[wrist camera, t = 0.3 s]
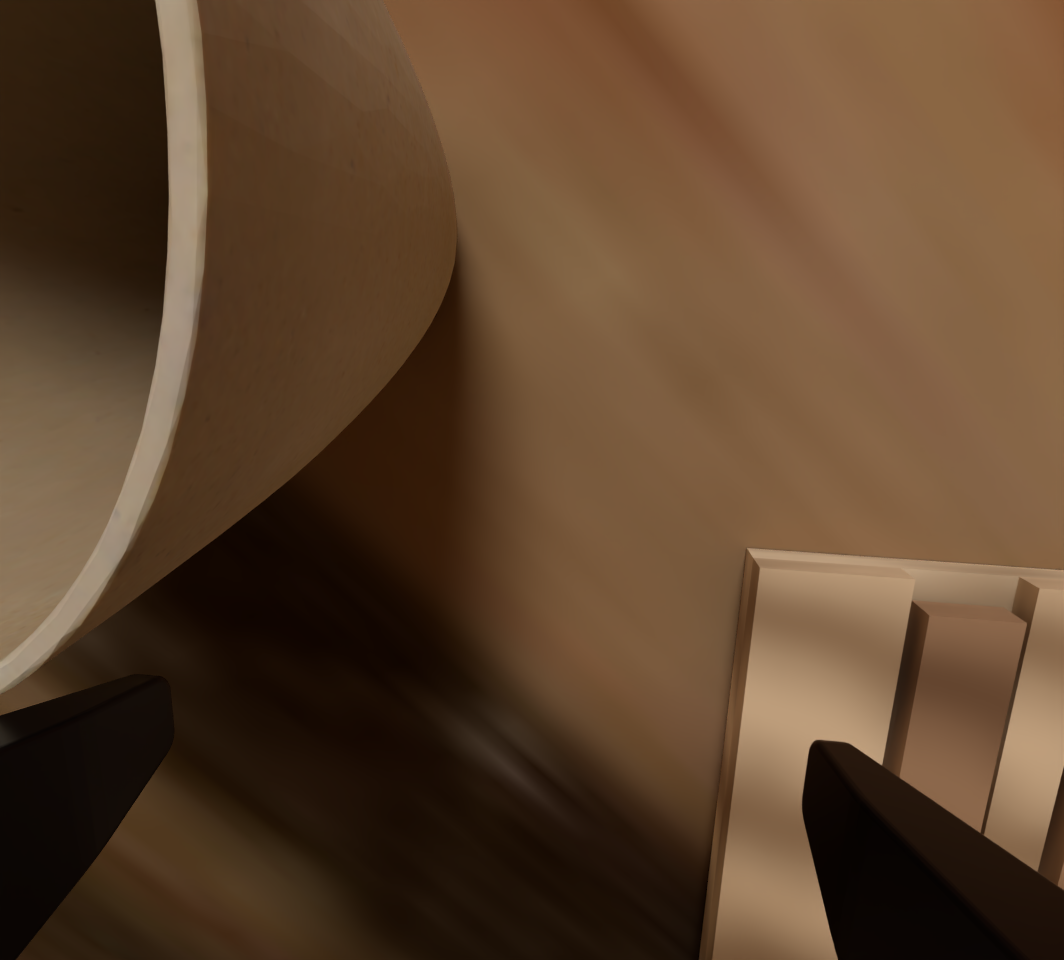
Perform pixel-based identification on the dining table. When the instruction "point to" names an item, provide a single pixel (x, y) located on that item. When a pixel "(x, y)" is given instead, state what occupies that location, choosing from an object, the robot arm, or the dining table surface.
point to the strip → (953, 702)
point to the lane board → (860, 727)
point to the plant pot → (192, 277)
